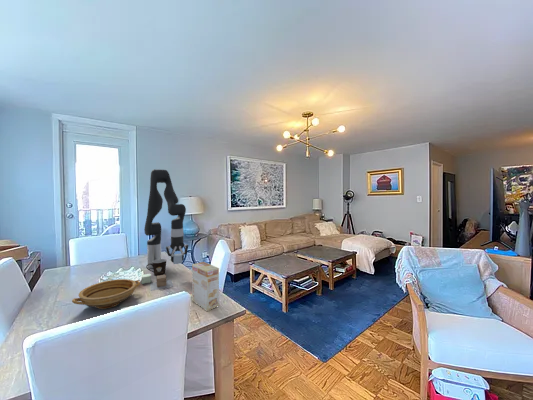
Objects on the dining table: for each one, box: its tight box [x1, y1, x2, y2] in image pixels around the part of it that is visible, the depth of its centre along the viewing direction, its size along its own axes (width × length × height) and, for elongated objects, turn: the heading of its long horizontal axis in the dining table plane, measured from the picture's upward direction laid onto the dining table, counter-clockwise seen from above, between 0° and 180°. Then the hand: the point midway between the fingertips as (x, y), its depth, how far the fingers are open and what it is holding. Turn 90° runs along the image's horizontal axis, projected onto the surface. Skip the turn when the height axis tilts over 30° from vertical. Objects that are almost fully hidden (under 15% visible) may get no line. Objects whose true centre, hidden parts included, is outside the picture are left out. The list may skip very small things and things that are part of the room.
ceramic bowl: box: [71, 278, 141, 310], centre depth 118 cm, size 30×24×8 cm
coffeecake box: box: [191, 261, 220, 312], centre depth 117 cm, size 15×7×20 cm, turn 44°
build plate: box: [149, 279, 174, 291], centre depth 139 cm, size 12×12×1 cm
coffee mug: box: [146, 258, 167, 277], centre depth 157 cm, size 12×9×10 cm
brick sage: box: [141, 273, 152, 285], centre depth 144 cm, size 5×5×5 cm
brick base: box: [156, 274, 167, 287], centre depth 139 cm, size 5×5×5 cm
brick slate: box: [172, 252, 183, 265], centre depth 150 cm, size 5×5×5 cm
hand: (177, 261), depth 150 cm, fingers closed on brick slate, 5 cm apart
